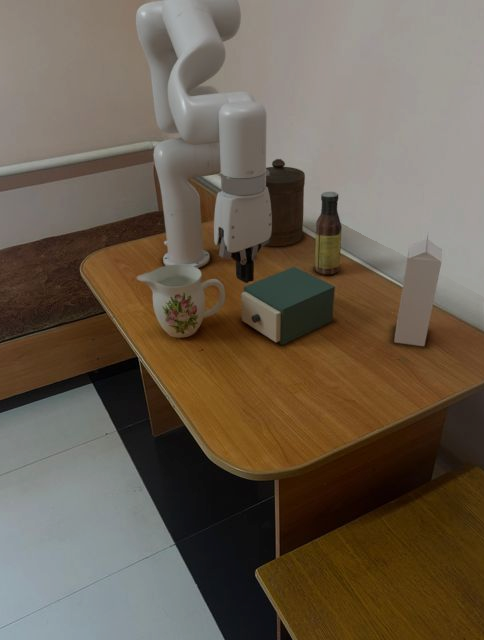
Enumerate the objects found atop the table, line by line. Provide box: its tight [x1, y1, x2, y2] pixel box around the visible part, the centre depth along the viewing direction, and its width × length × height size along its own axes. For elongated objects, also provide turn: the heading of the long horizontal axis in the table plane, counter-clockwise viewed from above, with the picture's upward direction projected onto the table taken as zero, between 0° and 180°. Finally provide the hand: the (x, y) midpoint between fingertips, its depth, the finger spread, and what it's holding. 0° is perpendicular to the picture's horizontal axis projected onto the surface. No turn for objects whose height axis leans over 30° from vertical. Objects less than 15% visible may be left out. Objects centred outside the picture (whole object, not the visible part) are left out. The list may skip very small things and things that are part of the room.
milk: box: [393, 231, 443, 347], centre depth 105 cm, size 6×6×22 cm
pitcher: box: [136, 264, 226, 339], centre depth 113 cm, size 11×18×14 cm, turn 103°
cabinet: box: [243, 266, 336, 346], centre depth 116 cm, size 15×13×9 cm
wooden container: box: [265, 158, 306, 247], centre depth 151 cm, size 15×15×22 cm
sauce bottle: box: [314, 191, 342, 276], centre depth 132 cm, size 6×6×20 cm
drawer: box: [240, 291, 281, 343], centre depth 115 cm, size 15×11×7 cm
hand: (245, 279), depth 101 cm, fingers closed
